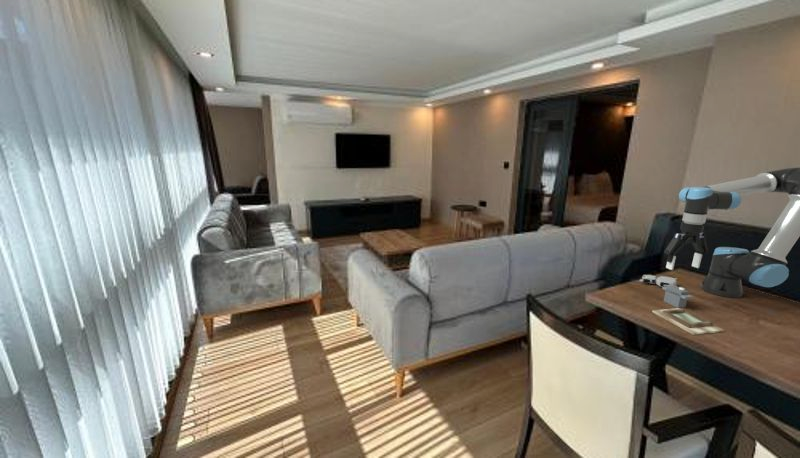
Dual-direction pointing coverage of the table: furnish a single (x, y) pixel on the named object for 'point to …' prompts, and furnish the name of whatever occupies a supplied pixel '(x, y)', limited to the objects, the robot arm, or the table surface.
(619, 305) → the table surface
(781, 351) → the table surface
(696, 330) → the pocket board
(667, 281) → the robot toy
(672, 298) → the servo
